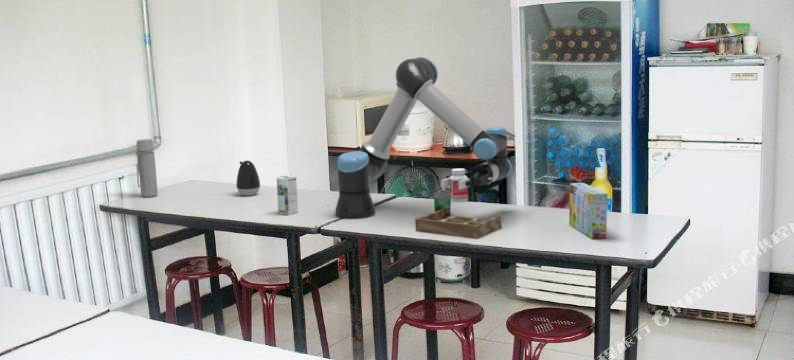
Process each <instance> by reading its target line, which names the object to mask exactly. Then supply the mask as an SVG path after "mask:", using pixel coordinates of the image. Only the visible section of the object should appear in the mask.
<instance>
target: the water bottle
mask: <svg viewBox="0 0 794 360" xmlns="http://www.w3.org/2000/svg"><path fill="white" fill-rule="evenodd" d="M135 154H136V158H137V161H136V162H137V163H136V164H137V170H136V172H137V173H136V174H137V176H136V177H137V182H136V183H137V186H138V188H140V194H141V197H143V198H154V197H157V196H158V194H159V193H158V183H157V180H158V179H157V169H156V158H155V148H154V143H153V139H149V138H145V139H137V140H136V151H135Z"/></svg>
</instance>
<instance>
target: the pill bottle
mask: <svg viewBox="0 0 794 360" xmlns="http://www.w3.org/2000/svg"><path fill="white" fill-rule="evenodd" d="M465 173H466V168H452V169H451V175H452V176H451V177H450V186H449V188H450V200H451V203H452V202H453V203H464V202H468V201H469V187H467V188H464V189H461V190H459V181H462V180H465V179H468V178H467V176H466V175H465Z"/></svg>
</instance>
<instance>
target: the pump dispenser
mask: <svg viewBox="0 0 794 360" xmlns="http://www.w3.org/2000/svg"><path fill="white" fill-rule="evenodd" d="M239 164H240V166H239V168H238V171H237V176H236V189H237V191H238V193H239V194H240V195H241V196H243V197H250V196H251V197H253V196H255V195H257V194H258V193H259V191H260V187H261V181H260V177H259V174H258V171H257V168H256V166H255V164H254V163H253V162H252V161H250V160H244V161H241V160H240V161H239Z"/></svg>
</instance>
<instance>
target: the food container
mask: <svg viewBox="0 0 794 360" xmlns="http://www.w3.org/2000/svg"><path fill="white" fill-rule="evenodd" d="M437 188H438V190H436V191H435V192H433V203H434V206H433V207H434V208H433V209H434V212H436V211H438V210H441V209H443V210H444V214H445V218H449V217H451V207H452V206H451V205H452V204H451V203H452V201H451V200H450V186H448V187H445V188H442V187H441V186H437Z"/></svg>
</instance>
